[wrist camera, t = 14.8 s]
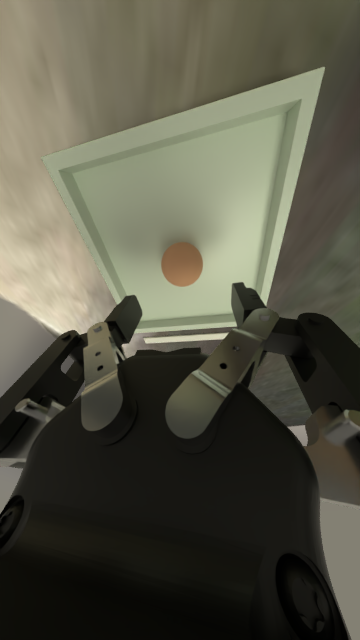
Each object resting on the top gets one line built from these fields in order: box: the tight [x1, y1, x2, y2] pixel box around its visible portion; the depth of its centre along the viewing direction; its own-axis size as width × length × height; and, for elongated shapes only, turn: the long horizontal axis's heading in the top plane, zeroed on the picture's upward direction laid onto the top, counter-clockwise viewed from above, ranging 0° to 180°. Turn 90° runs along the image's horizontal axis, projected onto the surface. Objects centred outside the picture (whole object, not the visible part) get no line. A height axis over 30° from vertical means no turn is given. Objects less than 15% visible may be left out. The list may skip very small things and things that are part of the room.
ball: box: [161, 242, 203, 287], centre depth 17 cm, size 5×5×5 cm
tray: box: [41, 67, 325, 333], centre depth 19 cm, size 22×22×3 cm
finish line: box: [144, 332, 229, 343], centre depth 30 cm, size 22×2×1 cm, turn 100°
